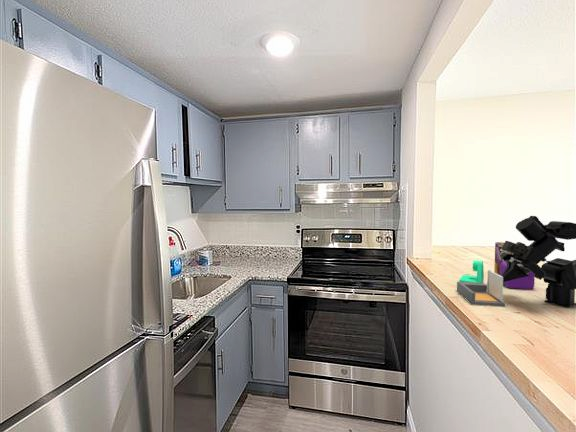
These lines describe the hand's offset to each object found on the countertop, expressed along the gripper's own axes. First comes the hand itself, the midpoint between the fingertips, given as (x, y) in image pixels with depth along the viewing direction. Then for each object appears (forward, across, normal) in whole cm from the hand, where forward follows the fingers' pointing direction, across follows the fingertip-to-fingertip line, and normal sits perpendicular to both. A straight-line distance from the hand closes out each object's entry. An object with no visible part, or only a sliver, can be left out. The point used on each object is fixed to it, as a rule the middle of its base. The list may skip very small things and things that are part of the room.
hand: (500, 281), depth 108 cm
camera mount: (+6, -22, +4) cm, 24 cm away
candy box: (-9, -41, +19) cm, 46 cm away
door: (+5, -1, +3) cm, 6 cm away
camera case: (+9, -3, +1) cm, 10 cm away
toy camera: (-6, -24, +16) cm, 29 cm away
